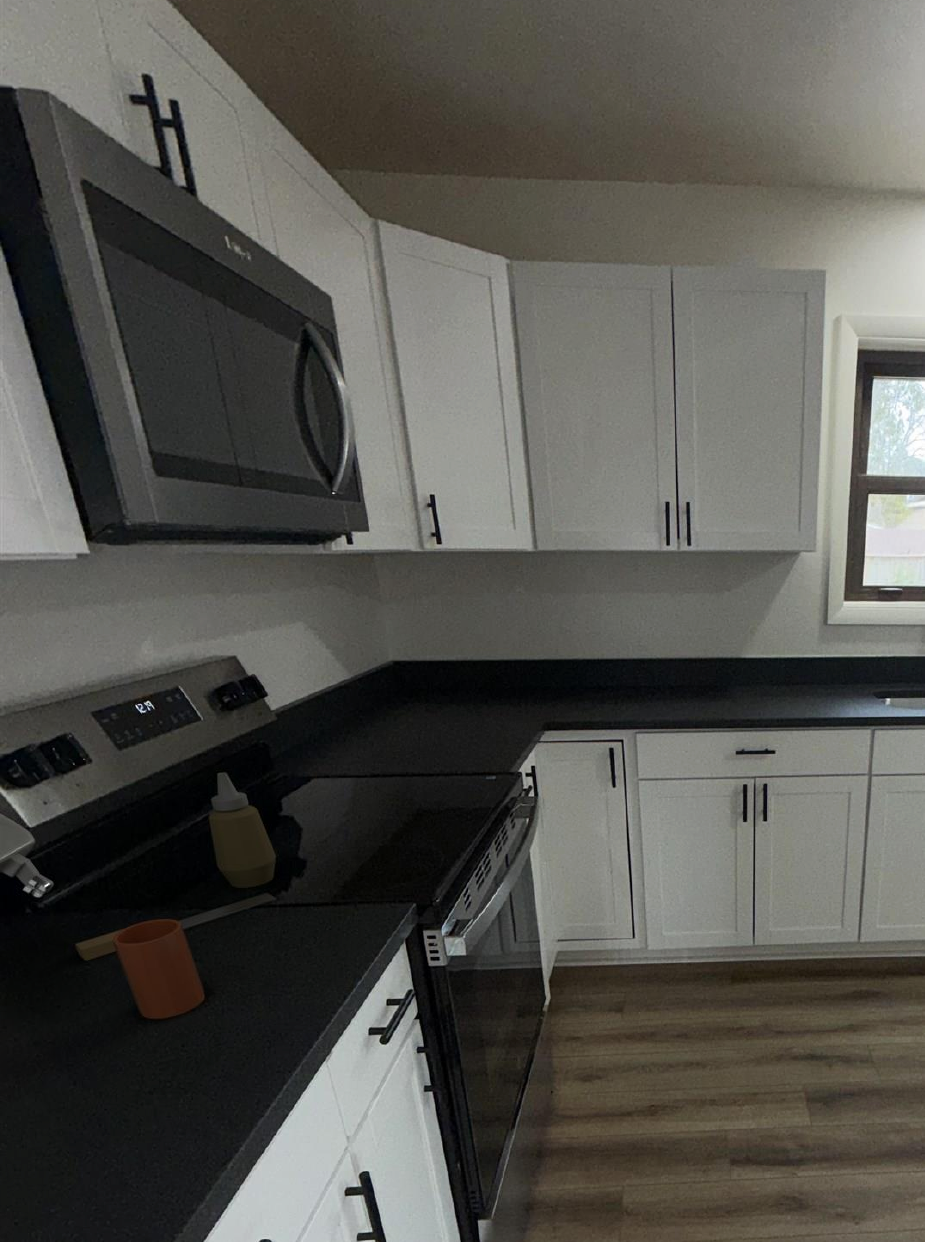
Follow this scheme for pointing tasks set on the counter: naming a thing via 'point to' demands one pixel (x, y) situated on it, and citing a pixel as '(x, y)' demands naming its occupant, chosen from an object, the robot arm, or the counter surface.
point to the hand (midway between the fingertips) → (20, 909)
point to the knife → (106, 945)
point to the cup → (159, 968)
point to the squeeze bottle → (240, 838)
